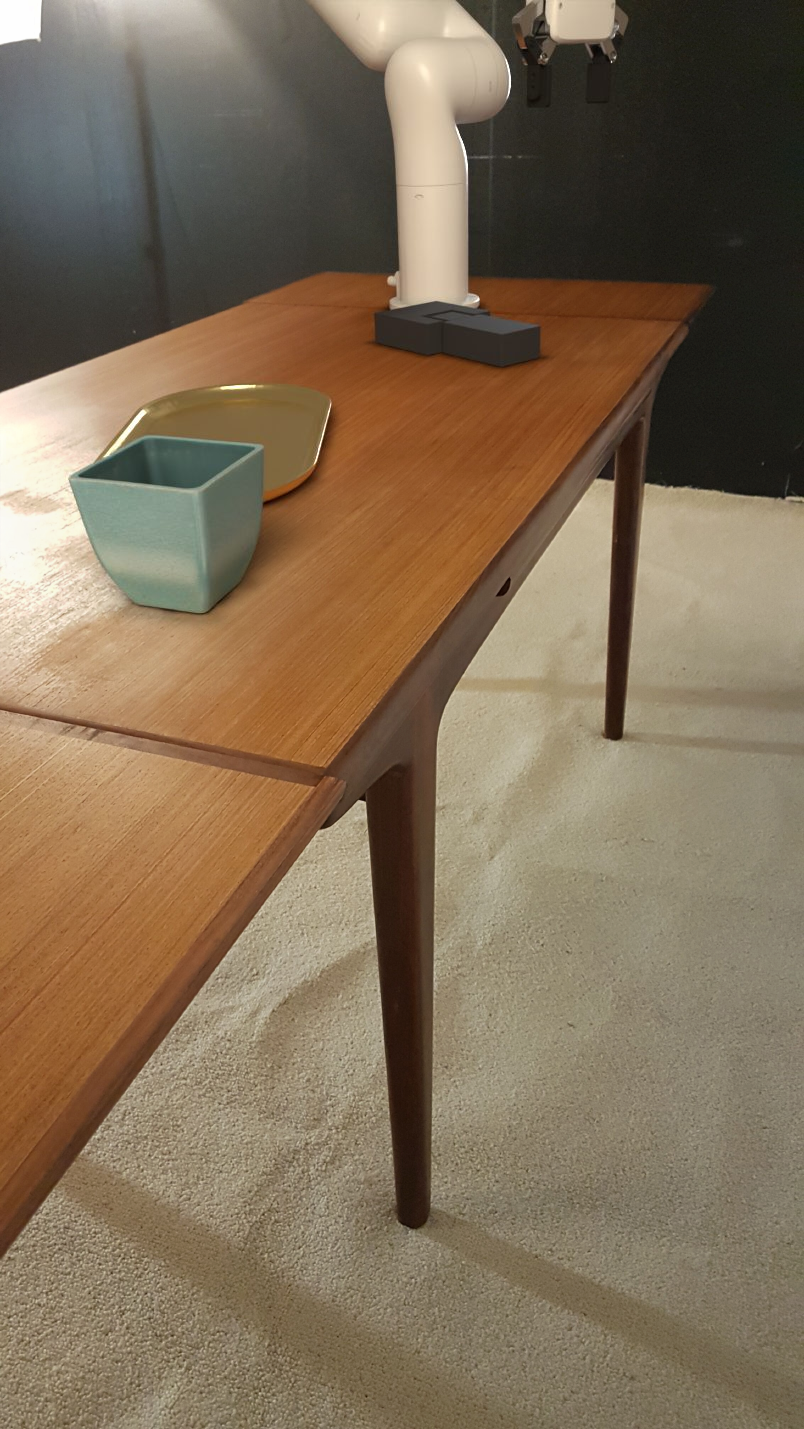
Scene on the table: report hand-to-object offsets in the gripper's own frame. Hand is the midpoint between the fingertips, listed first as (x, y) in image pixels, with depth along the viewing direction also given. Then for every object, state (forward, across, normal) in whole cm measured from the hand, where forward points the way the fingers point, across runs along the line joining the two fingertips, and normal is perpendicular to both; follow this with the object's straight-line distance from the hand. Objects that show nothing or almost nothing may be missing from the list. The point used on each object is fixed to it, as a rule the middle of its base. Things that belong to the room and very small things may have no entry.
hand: (568, 105), depth 117 cm
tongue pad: (+24, +16, +3) cm, 29 cm away
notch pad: (+24, +16, -6) cm, 30 cm away
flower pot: (+24, +74, +38) cm, 87 cm away
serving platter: (+24, +57, +13) cm, 63 cm away
